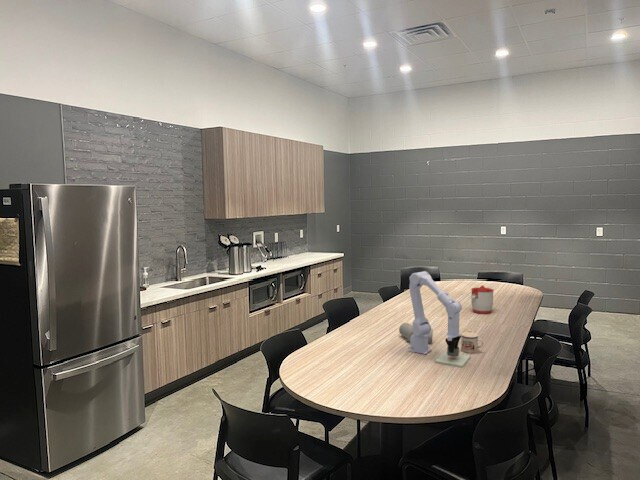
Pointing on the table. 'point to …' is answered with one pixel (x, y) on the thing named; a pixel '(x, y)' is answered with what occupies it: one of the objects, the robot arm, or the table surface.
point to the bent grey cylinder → (407, 332)
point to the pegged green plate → (452, 360)
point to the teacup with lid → (470, 342)
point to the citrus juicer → (482, 300)
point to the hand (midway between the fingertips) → (453, 350)
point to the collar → (456, 352)
